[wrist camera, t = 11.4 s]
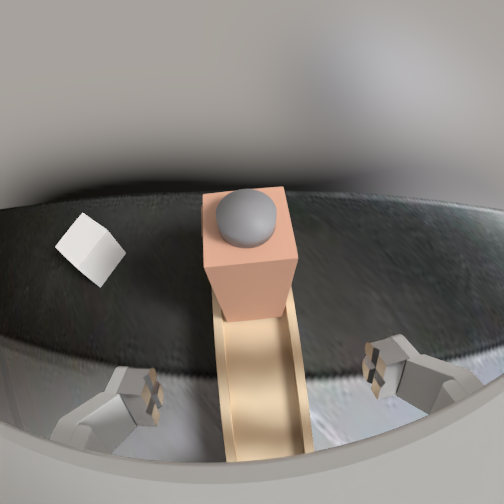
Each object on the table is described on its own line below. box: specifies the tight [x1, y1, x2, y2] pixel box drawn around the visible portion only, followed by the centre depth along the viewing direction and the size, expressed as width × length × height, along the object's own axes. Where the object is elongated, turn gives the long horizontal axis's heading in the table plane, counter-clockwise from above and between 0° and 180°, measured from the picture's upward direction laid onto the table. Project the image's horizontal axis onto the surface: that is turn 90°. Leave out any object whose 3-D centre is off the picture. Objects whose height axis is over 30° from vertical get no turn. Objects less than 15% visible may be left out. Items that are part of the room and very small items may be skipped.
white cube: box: [55, 213, 126, 288], centre depth 27 cm, size 5×5×5 cm
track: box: [201, 206, 314, 462], centre depth 20 cm, size 27×7×7 cm, turn 6°
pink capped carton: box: [203, 187, 298, 322], centre depth 19 cm, size 5×5×12 cm
